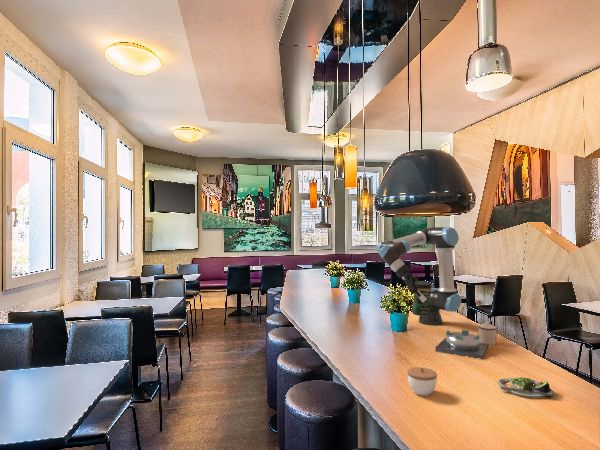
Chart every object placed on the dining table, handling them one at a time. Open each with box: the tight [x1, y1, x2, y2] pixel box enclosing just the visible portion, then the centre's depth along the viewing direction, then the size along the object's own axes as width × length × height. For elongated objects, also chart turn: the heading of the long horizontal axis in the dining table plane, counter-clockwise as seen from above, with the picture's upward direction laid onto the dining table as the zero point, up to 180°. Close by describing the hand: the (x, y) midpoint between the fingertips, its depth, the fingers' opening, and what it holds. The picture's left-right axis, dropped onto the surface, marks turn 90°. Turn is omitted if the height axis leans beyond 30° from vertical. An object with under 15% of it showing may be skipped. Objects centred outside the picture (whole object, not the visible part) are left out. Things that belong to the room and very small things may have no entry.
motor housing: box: [434, 329, 490, 360], centre depth 196 cm, size 22×22×8 cm
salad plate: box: [497, 376, 558, 399], centre depth 146 cm, size 19×18×5 cm
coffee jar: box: [411, 280, 432, 317], centre depth 207 cm, size 10×8×19 cm
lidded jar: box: [407, 366, 438, 397], centre depth 143 cm, size 11×11×9 cm
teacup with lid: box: [477, 321, 497, 346], centre depth 210 cm, size 12×9×12 cm
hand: (427, 299), depth 205 cm, fingers closed on coffee jar, 9 cm apart
